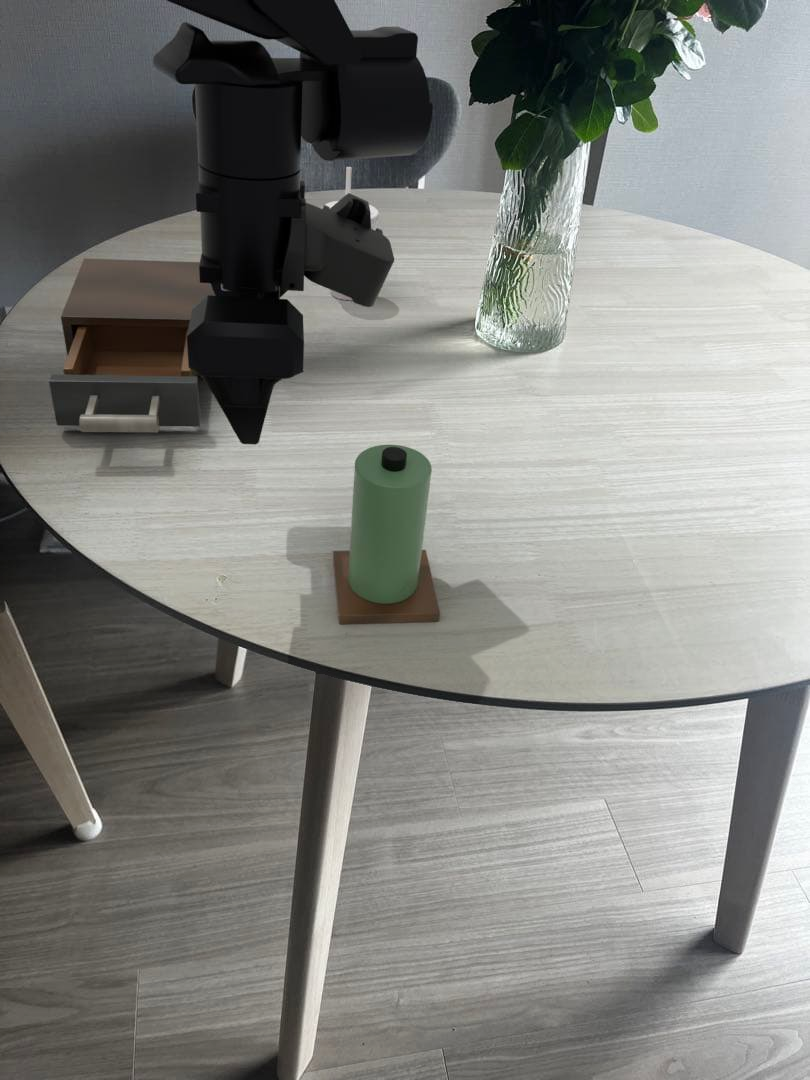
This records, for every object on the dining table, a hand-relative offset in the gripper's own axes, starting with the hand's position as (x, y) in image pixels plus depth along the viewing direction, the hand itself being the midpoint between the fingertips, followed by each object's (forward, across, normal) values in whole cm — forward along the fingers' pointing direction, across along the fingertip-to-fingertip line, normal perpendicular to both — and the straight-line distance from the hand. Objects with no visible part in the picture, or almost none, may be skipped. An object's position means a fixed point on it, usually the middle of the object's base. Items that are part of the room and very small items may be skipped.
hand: (251, 406), depth 60 cm
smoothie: (+12, +46, -10) cm, 49 cm away
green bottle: (+11, -5, -9) cm, 15 cm away
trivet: (+12, -5, -10) cm, 16 cm away
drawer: (+11, +19, +11) cm, 24 cm away
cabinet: (+12, +32, +11) cm, 36 cm away
